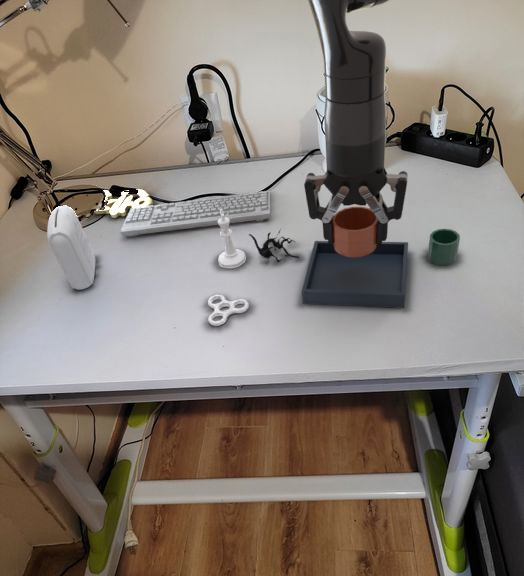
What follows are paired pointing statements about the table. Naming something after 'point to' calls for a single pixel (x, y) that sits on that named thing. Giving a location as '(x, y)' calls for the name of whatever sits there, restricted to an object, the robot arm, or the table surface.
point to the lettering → (124, 203)
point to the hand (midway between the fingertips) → (355, 240)
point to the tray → (357, 276)
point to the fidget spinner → (227, 312)
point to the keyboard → (197, 213)
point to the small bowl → (443, 247)
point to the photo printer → (71, 247)
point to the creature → (266, 250)
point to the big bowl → (355, 231)
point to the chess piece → (229, 246)
